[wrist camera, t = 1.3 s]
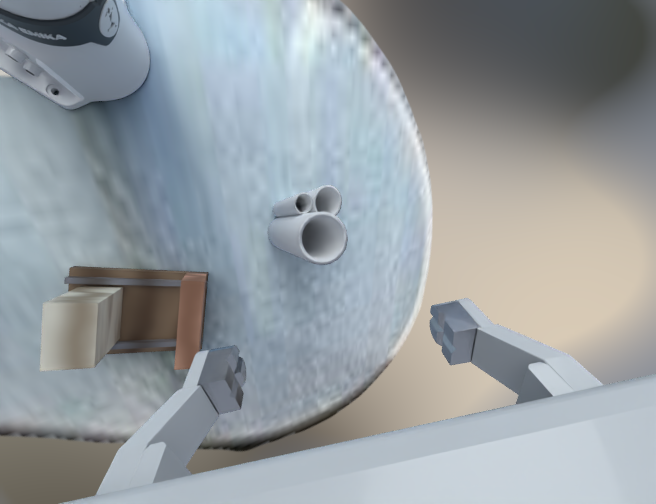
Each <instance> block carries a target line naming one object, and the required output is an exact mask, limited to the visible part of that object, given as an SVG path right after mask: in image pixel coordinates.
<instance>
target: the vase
mask: <svg viewBox="0 0 656 504" xmlns="http://www.w3.org/2000/svg"><path fill="white" fill-rule="evenodd" d="M341 204H342V198H341V195H340V192H339V191H338V189H337V188H335V187H334V186H332V185H324V186H321V187H318V188H316V189H313V190H310V191H307V192H305V193H299V194H297V195H294V196H292V197H289V198H286V199H284V200H281V201H278V202H276V203H275V204H274V206H273V213H274V215H275V216H277V217H278V218H275V219H274V220H273V221H272V222H271V224H270V225H269V228H268V237H269V240H270V242H271V243H272V244H273V245H274V246H275V247H277V248H279V249H281V250H283V251H285V252H288V253H290V254H293V255H295V256H297V257H300V258H302V259H304V260H307V261H309V262H311V263H314V264H319V265H325V264H330V263H332V262H334V261H336V260H338V259H339V258H340V256H341V255H342V254H343V253H344V251H345V249H346V246H347V241H348V237H347V230H346V228H345V226H344V224H343V222H342V221H341V220H340V219H339V218H338V217H337V216H336V215H337V214H338V213H339V211H340V209H341Z"/></svg>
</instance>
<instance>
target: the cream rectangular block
mask: <svg viewBox="0 0 656 504" xmlns="http://www.w3.org/2000/svg"><path fill="white" fill-rule="evenodd" d="M122 298H123V287H105V286H80V287H78V288H75V289H73V290H71V291H69V292H66V293H64V294H62V295H60V296H58V297H55V298H53V299H51V300H49V301H46V302H44V303H43V312H42V334H41V356H40V371H54V370H69V369H83V368H95V367H96V365H97V364H98V363H99V362H100V361H101V360H102V358H103V357H104V356H105V355H106V354H107V353H108V352H109V350H110V349H111V348H112V347H113V346H114V345H115V344H116V342H117V341H118V340H119V339H120V329H121V314H122Z"/></svg>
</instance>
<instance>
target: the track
mask: <svg viewBox="0 0 656 504" xmlns="http://www.w3.org/2000/svg"><path fill="white" fill-rule="evenodd" d="M207 281H208V272H188V271H167V270H145V269H123V268H101V267H79V266H74V267H71V268H70V271H69V276H68V277H66V278H65V282H64V283H65V284H69V290H68V292H69V291H71V290H73V289H75V288H78V287H80V286H105V287H123V298H122V314H121V329H120V339H119V340H118V341H117V342H116V344H115V345H114V346H113V347H112V348H111V349H110V350H109V352H108V353H107V354H119V353H137V352H156V351H174V350H176V354H175V367H174V370H180V369H190V367H191V364H192V362H193V359H194V357H195V355H196V354H197V353H198V352H200V349H202V341H203V329H204V317H205V305H206V293H207Z"/></svg>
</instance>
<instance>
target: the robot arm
mask: <svg viewBox="0 0 656 504" xmlns="http://www.w3.org/2000/svg"><path fill="white" fill-rule="evenodd" d="M149 66H150V55H149V49H148V45H147V42H146V40H145V38H144V35H143V34H142V32H141V30H140V28H139V27H138V25H137V24H136V23H135V21H134V20H133V18H132V17H131V15H130V14H129V12H128V9H127V5H126V2H125V0H0V69H1V70H3V71H4V72H6V73H7V74H9V75H11V76H12V77H14V78H16V79H17V80H19V81H20V82H22V83H24V84H25V85H27V86H29V87H30V88H32V89H33V90H35V91H37V92H38V93H40V94H42V95H43V96H45V97H46V98H48V99H50V100H51V101H53V102H54V103H56V104H58V105H59V106H61V107H63V108H65V109H76V108H79V107H81V106H84V105H86V104H88V103H90V102H94V101H110V100H116V99H120V98H123V97H126V96H128V95H130V94H132V93H133V92H135V91H136V90H137V89H138V88H139V87H140V86H141V85H142V84H143V82H144V81H145V79H146V77H147V74H148V71H149ZM55 91H59V94H58V95H54V92H55ZM430 312H431V314H432V316H433V317H432V319H431V320H430V330H431V334H432V336H433V338H434V340H435V342H436V343H437V344H439V345H441V346H442V353H443V355H444V356H445V358H446V359H447V361H448V363H449V364H450V365H455V364H460V363H466V362H471V363H473V364H474V365H475V366H477V367H478V368H480V369H481V370H483V371H484V372H486V373H487V374H489V375H490V376H492V377H493V378H495V379H496V380H498V381H499V382H501V383H502V384H504V385H505V386H506V387H508V388H509V389H511V390H512V391H514V392H515V393H517V394H518V395H519V396H518V399H517V402H516V404H515V405H511V406H506V407H502V408H497V409H492V410H488V411H483V412H479V413H474V414H469V415H465V416H460V417H456V418H451V419H446V420H442V421H437V422H433V423H428V424H423V425H419V426H414V427H410V428H406V429H401V430H396V431H391V432H387V433H382V434H378V435H373V436H368V437H364V438H359V439H355V440H350V441H345V442H341V443H336V444H332V445H327V446H323V447H318V448H313V449H309V450H304V451H300V452H295V453H291V454H286V455H282V456H277V457H273V458H267V459H263V460H258V461H254V462H249V463H244V464H240V465H235V466H231V467H226V468H221V469H217V470H212V471H208V472H203V473H198V474H194V475H192V474H191V472H190V471H189V470H188V469H187V468H186V467H185V466H186V465H187V463H188V462H189V460H190V459H191V457H192V456H193V454H194V453H195V451H196V450H197V448H198V447H199V445H200V444H201V442H202V441H203V439H204V438H205V436H206V435H207V433H208V432H209V430H210V429H211V427H212V426H213V424H214V423H215V421H216V420H217V418H218V417H219V414H223V413H228V412H232V411H236V410H240V409H241V406H242V400H243V394H244V393H243V391H242V389H241V387H242V386H243V385H244V383H245V381H246V366H245V362H244V360H243V358H241V357H239V352H240V351H239V349H238V347H237V346H236V345H233V346H227V347H222V348H216V349H211V350H206V351H200V352H198V353H197V354H196V355H195V357H194V359H193V362H192V364H191V367H190V369H189V372H188V375H187V377H186V380H185V382H184V385H183V388H182V389H180V390H177V391H176V392H175V394H174V395H173V396H172V397H171V398H170V399H169V400H168V401H167V402H166V403H165V404H164V405H163V406H162V407H161V408H160V409H159V410H158V411H157V412H156V413H155V414H154V415H153V416H152V417H151V418H150V419H149V420H148V421H147V422H146V423H145V424H144V425H143V426H142V427H141V428H140V429H139V430H138V431H137V432H136V433H135V434H134V435H133V436H132V437H131V438H130V439H129V440H128V441H127V442H126V443H125V444H124V445H123V446H122V447H121V448H120V449H119V450H118V452H117V454H116V456H115V458H114V460H113V462H112V464H111V466H110V468H109V470H108V472H107V474H106V476H105V478H104V480H103V482H102V483H101V486H100V488H99V490H98V491H97V493H96V496H92V497H87V498H83V499H78V500H74V501H69V502H65V503H60V504H656V374H653V375H649V376H644V377H640V378H635V379H630V380H626V381H622V382H617V383H612V384H607V385H603V384H602V383H601V382H599V381H598V380H597V379H596V378H595V377H594V376H593V375H592V374H590V373H589V372H588V371H587V370H586V369H585V368H584V367H583V366H582V365H580V364H579V363H578V362H577V361H576V360H575V359H574V358H572V357H571V356H570V355H569V354H566V353H564V352H562V351H559V350H557V349H555V348H552V347H550V346H548V345H545V344H543V343H541V342H538V341H536V340H534V339H531V338H529V337H526V336H524V335H522V334H520V333H517V332H515V331H512V330H510V329H508V328H506V327H503V326H501V325H499V324H497V325H494V324H493V323H492V322H491V321H490V320H489V319H488V318H487V317H486V316H485V314H484V313H483V312H482V311H481V310H480V309H479V308H478V307H477V306H476V305H475V304H474V303H473V302H472V301H471V300H470V299H469V298H464V299H460V300H455V301H451V302H446V303H441V304H437V305H432V306H431V311H430Z"/></svg>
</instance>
